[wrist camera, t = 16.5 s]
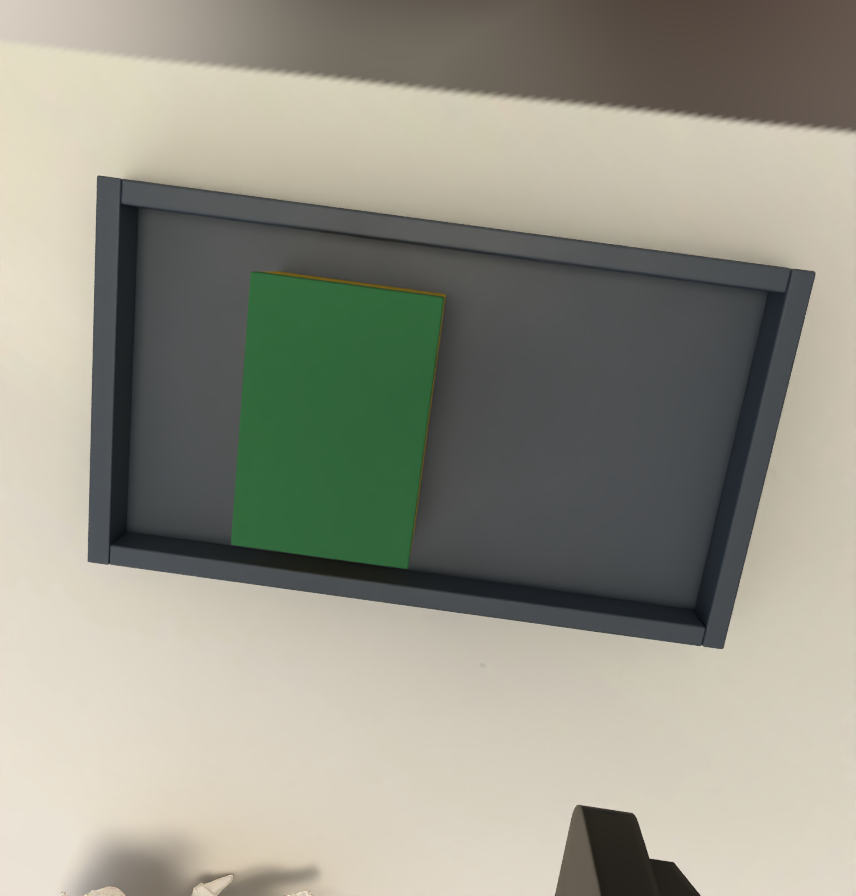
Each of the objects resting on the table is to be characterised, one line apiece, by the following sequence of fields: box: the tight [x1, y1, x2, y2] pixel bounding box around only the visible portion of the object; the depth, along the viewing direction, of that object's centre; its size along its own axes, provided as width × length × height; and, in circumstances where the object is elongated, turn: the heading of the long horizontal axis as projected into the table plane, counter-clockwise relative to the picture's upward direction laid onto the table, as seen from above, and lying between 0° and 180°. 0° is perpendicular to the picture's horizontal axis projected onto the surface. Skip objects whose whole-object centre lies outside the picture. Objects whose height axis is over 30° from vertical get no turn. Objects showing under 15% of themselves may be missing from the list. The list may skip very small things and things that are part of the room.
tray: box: [88, 176, 815, 649], centre depth 27 cm, size 24×14×2 cm, turn 83°
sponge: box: [231, 271, 446, 569], centre depth 26 cm, size 6×9×4 cm, turn 172°
